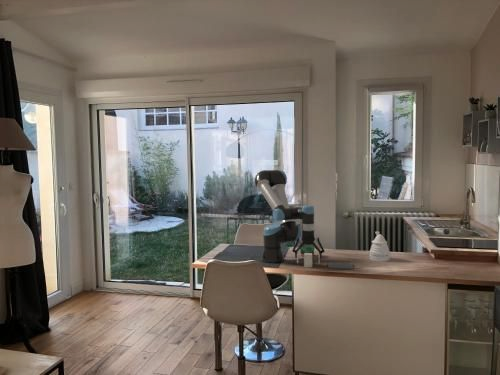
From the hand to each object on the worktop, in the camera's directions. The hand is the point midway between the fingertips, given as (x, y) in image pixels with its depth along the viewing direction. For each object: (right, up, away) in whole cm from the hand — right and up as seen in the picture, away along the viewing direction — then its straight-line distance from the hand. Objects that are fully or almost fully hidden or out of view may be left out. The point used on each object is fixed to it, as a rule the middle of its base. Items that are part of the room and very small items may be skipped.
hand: (308, 263), depth 267 cm
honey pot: (+50, 0, +15) cm, 52 cm away
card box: (0, -2, 0) cm, 2 cm away
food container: (+4, 0, +25) cm, 25 cm away
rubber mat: (+20, -1, -3) cm, 20 cm away
